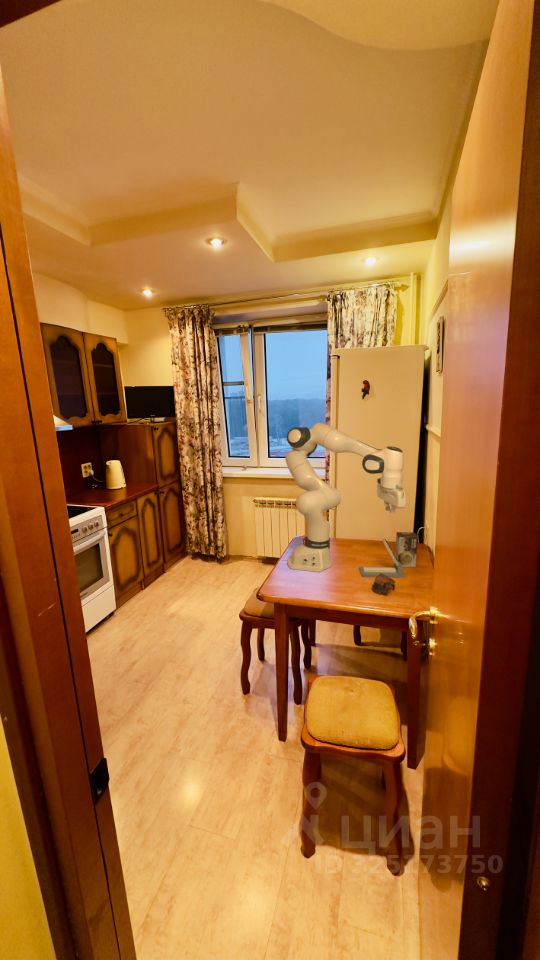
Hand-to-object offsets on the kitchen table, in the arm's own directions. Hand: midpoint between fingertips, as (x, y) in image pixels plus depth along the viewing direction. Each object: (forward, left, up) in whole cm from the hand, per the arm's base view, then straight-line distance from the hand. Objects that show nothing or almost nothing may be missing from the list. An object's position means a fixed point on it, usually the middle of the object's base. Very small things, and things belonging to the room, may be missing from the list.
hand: (389, 511), depth 167 cm
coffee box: (+12, +10, -31) cm, 35 cm away
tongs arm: (+2, 0, -21) cm, 22 cm away
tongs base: (-2, 0, -31) cm, 31 cm away
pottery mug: (-5, -16, -31) cm, 36 cm away
